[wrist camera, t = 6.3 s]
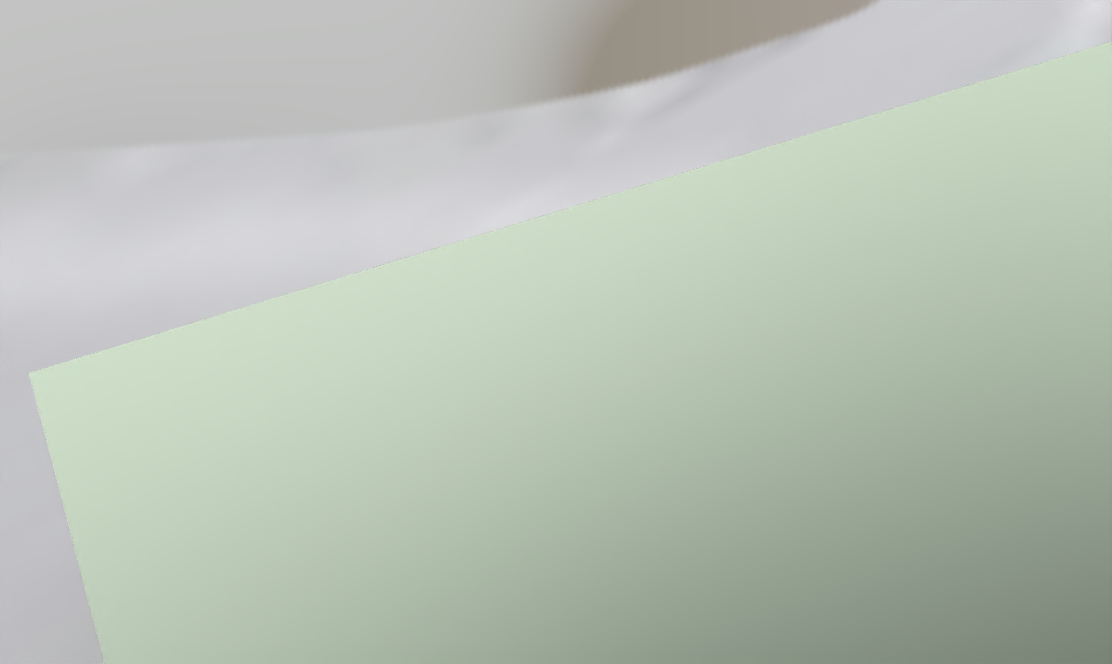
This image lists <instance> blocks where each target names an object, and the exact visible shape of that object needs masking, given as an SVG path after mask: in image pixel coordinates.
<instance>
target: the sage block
mask: <svg viewBox="0 0 1112 664" xmlns="http://www.w3.org/2000/svg"><path fill="white" fill-rule="evenodd" d="M29 377H30V381H31V385H32V388H33V392H34V396H35V400H36V404H37V408H38V411H39V415H40V419H41V423H42V427H43V431H44V435H45V438H46V442H47V446H48V450H49V454H50V458H51V462H52V465H53V469H54V473H55V477H56V481H57V485H58V488H59V492H60V496H61V500H62V504H63V508H64V512H65V515H66V519H67V523H68V527H69V531H70V535H71V539H72V542H73V546H74V550H75V554H76V558H77V562H78V565H79V569H80V573H81V577H82V581H83V585H84V589H85V592H86V596H87V600H88V604H89V608H90V612H91V616H92V619H93V623H94V627H95V631H96V635H97V639H98V642H99V646H100V650H101V654H102V658H103V662H104V664H1112V41H1111V42H1108V43H1105V44H1102V45H1098V46H1095V47H1092V48H1089V49H1085V50H1082V51H1079V52H1075V53H1072V54H1069V55H1066V56H1062V57H1059V58H1056V59H1053V60H1049V61H1046V62H1043V63H1040V64H1036V65H1033V66H1030V67H1026V68H1023V69H1020V70H1017V71H1013V72H1010V73H1007V74H1004V75H1000V76H997V77H994V78H991V79H987V80H984V81H981V82H977V83H974V84H971V85H968V86H964V87H961V88H958V89H955V90H951V91H948V92H945V93H942V94H938V95H935V96H932V97H929V98H925V99H922V100H919V101H915V102H912V103H909V104H906V105H902V106H899V107H896V108H893V109H889V110H886V111H883V112H880V113H876V114H873V115H870V116H866V117H863V118H860V119H857V120H853V121H850V122H847V123H844V124H840V125H837V126H834V127H831V128H827V129H824V130H821V131H818V132H814V133H811V134H808V135H804V136H801V137H798V138H795V139H791V140H788V141H785V142H782V143H778V144H775V145H772V146H769V147H765V148H762V149H759V150H755V151H752V152H749V153H746V154H742V155H739V156H736V157H733V158H729V159H726V160H723V161H720V162H716V163H713V164H710V165H706V166H703V167H700V168H697V169H693V170H690V171H687V172H684V173H680V174H677V175H674V176H671V177H667V178H664V179H661V180H658V181H654V182H651V183H648V184H644V185H641V186H638V187H635V188H631V189H628V190H625V191H622V192H618V193H615V194H612V195H609V196H605V197H602V198H599V199H595V200H592V201H589V202H586V203H582V204H579V205H576V206H573V207H569V208H566V209H563V210H560V211H556V212H553V213H550V214H547V215H543V216H540V217H537V218H533V219H530V220H527V221H524V222H520V223H517V224H514V225H511V226H507V227H504V228H501V229H498V230H494V231H491V232H488V233H484V234H481V235H478V236H475V237H471V238H468V239H465V240H462V241H458V242H455V243H452V244H449V245H445V246H442V247H439V248H435V249H432V250H429V251H426V252H422V253H419V254H416V255H413V256H409V257H406V258H403V259H400V260H396V261H393V262H390V263H387V264H383V265H380V266H377V267H373V268H370V269H367V270H364V271H360V272H357V273H354V274H351V275H347V276H344V277H341V278H338V279H334V280H331V281H328V282H324V283H321V284H318V285H315V286H311V287H308V288H305V289H302V290H298V291H295V292H292V293H289V294H285V295H282V296H279V297H276V298H272V299H269V300H266V301H262V302H259V303H256V304H253V305H249V306H246V307H243V308H240V309H236V310H233V311H230V312H227V313H223V314H220V315H217V316H213V317H210V318H207V319H204V320H200V321H197V322H194V323H191V324H187V325H184V326H181V327H178V328H174V329H171V330H168V331H164V332H161V333H158V334H155V335H151V336H148V337H145V338H142V339H138V340H135V341H132V342H129V343H125V344H122V345H119V346H116V347H112V348H109V349H106V350H102V351H99V352H96V353H93V354H89V355H86V356H83V357H80V358H76V359H73V360H70V361H67V362H63V363H60V364H57V365H53V366H50V367H47V368H44V369H40V370H37V371H34V372H31V373H29Z"/></svg>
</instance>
